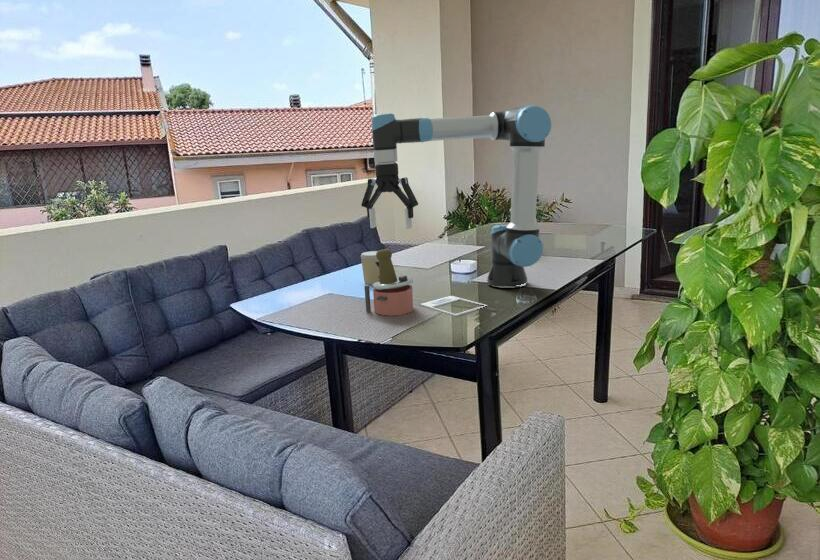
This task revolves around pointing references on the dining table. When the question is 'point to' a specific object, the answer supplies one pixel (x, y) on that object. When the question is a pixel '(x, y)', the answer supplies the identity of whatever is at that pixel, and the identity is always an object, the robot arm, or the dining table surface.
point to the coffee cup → (370, 267)
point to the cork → (386, 267)
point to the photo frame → (445, 301)
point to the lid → (394, 283)
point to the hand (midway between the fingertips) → (390, 227)
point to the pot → (391, 300)
